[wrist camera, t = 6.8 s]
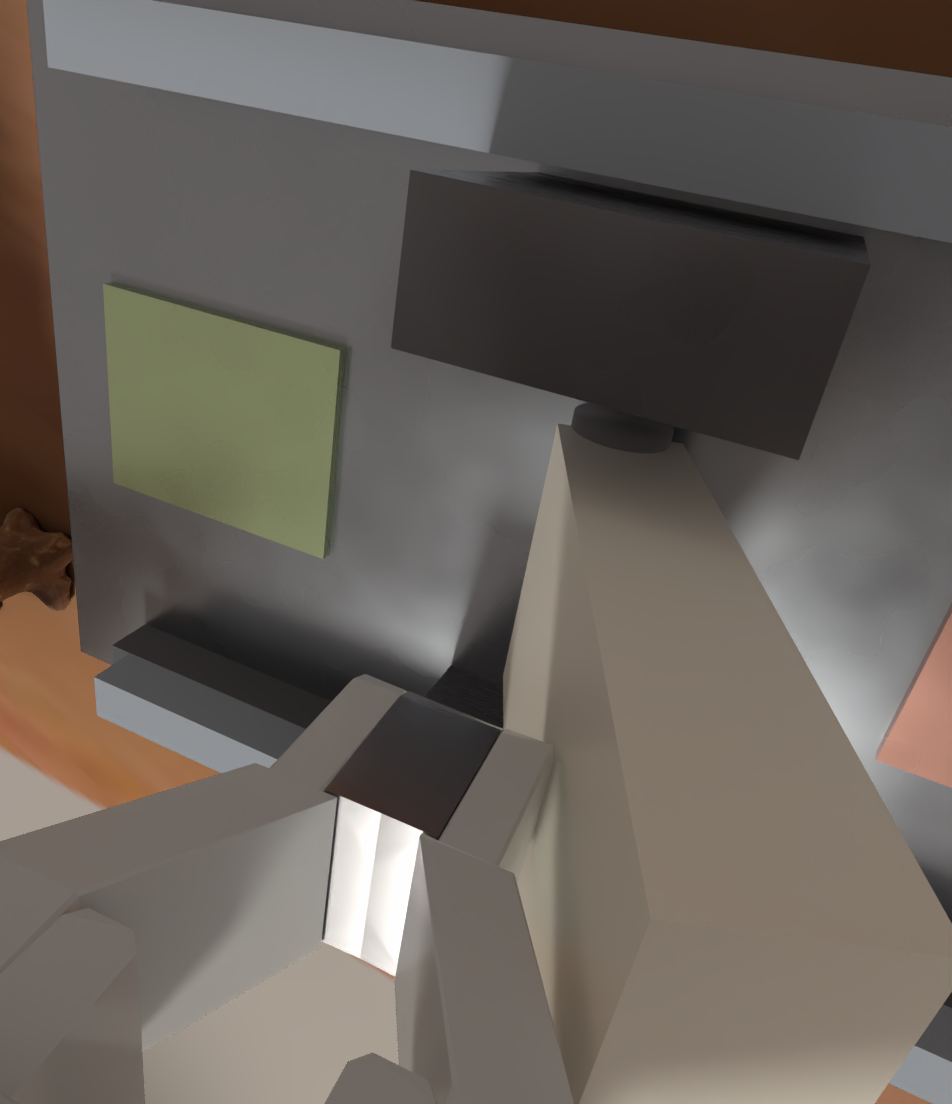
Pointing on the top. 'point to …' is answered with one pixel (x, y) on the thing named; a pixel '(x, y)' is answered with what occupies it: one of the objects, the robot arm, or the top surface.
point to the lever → (699, 809)
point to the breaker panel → (488, 380)
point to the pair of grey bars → (508, 130)
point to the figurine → (34, 561)
